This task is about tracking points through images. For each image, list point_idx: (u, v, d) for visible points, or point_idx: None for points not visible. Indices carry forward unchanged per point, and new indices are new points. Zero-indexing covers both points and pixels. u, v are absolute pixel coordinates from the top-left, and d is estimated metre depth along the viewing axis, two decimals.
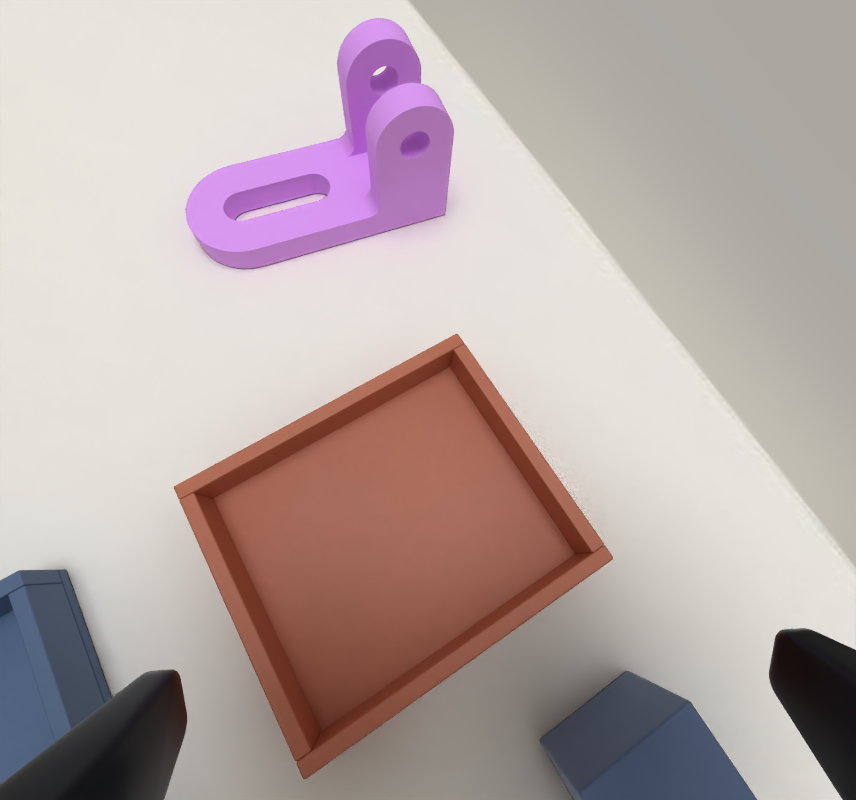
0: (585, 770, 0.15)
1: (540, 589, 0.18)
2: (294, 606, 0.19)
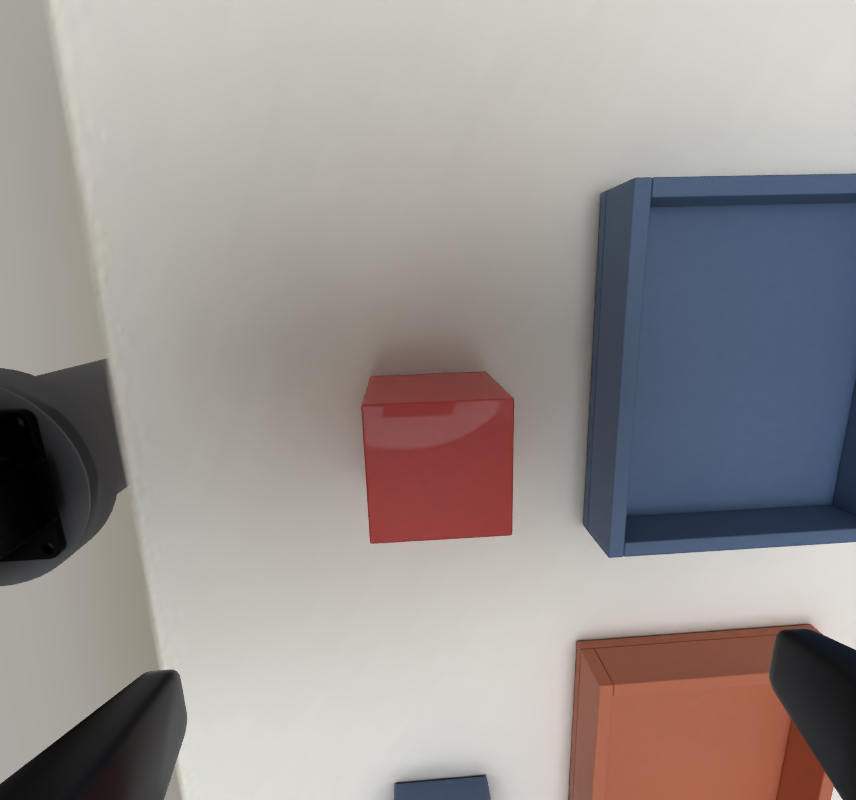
0: None
1: None
2: None
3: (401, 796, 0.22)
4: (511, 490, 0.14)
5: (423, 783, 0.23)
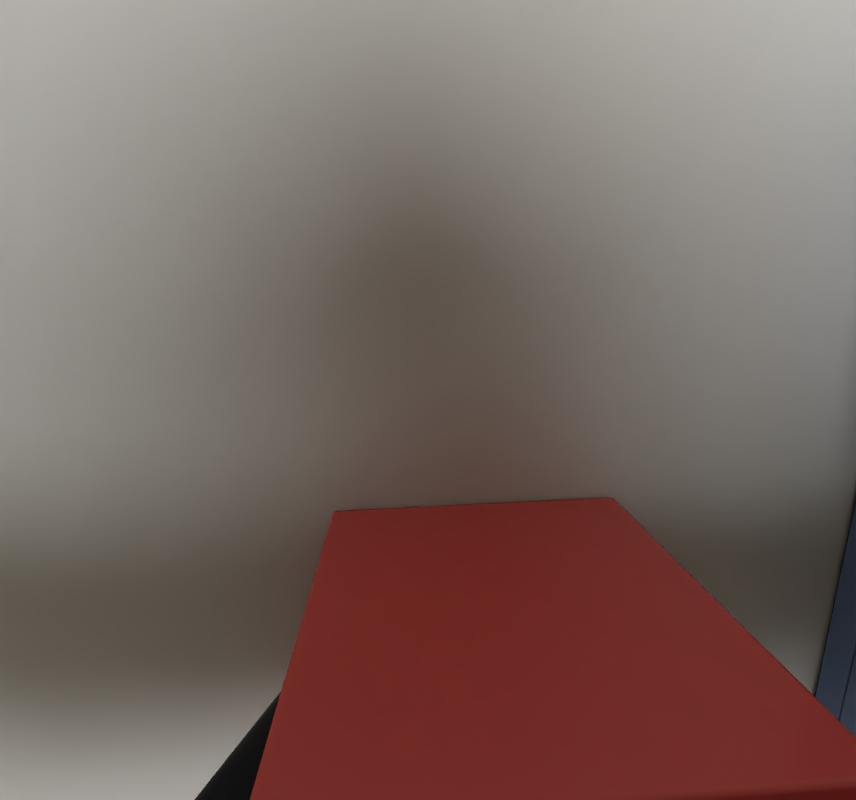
0: None
1: None
2: None
3: None
4: None
5: None
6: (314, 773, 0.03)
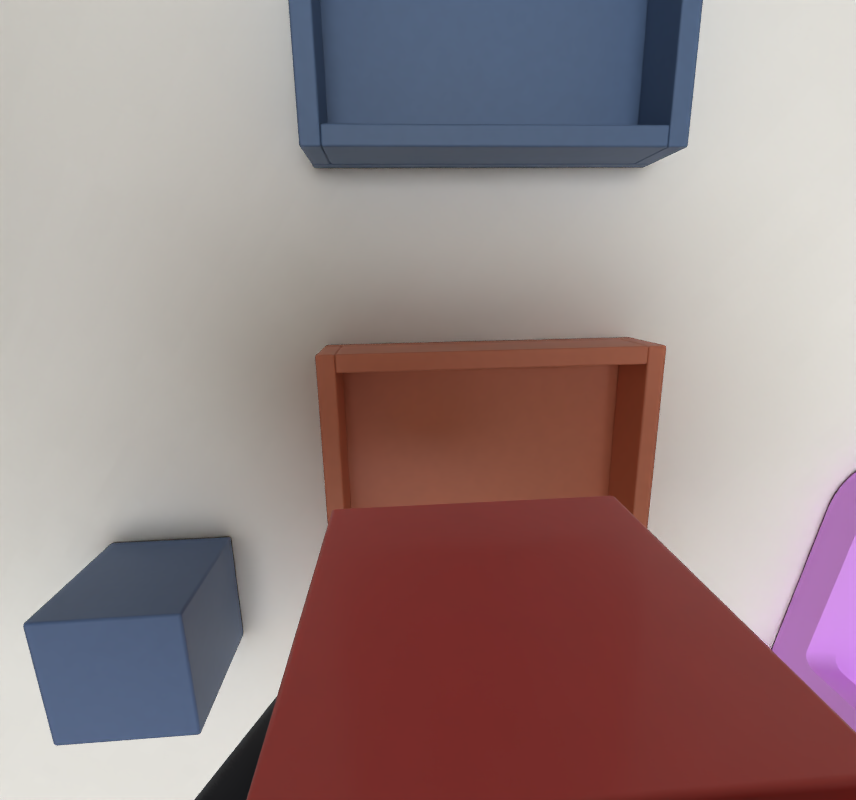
0: (193, 615, 0.15)
1: None
2: (465, 387, 0.17)
3: (110, 550, 0.17)
4: None
5: (147, 542, 0.18)
6: (312, 771, 0.03)
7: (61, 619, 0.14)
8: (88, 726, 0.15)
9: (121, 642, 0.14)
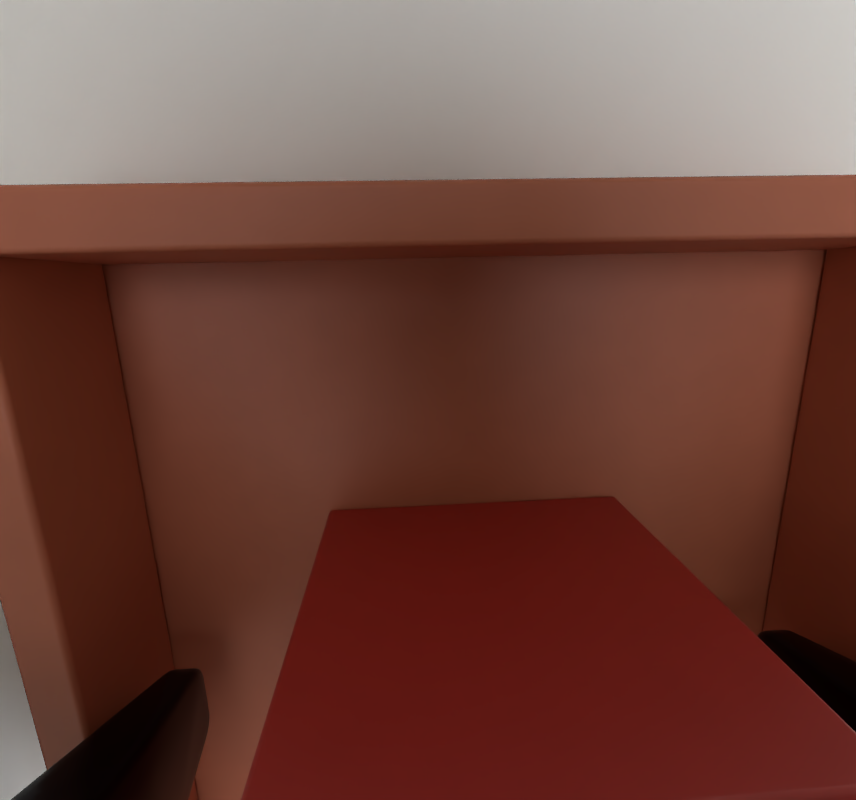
0: None
1: None
2: (435, 333, 0.07)
3: None
4: None
5: None
6: (305, 780, 0.03)
7: None
8: None
9: None
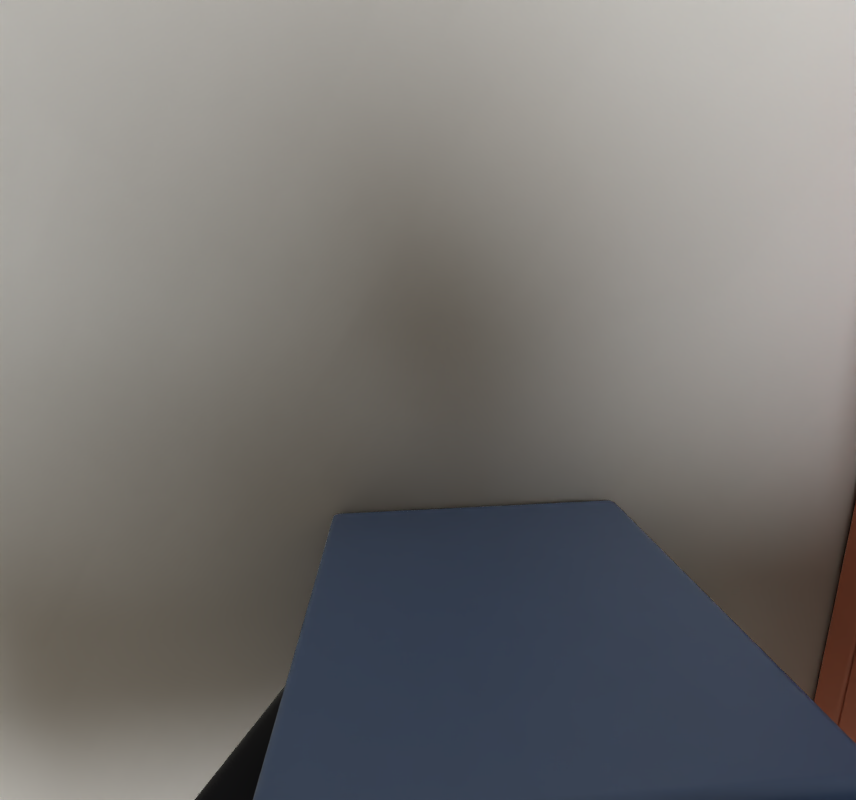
0: None
1: None
2: None
3: (350, 530, 0.07)
4: None
5: (422, 511, 0.07)
6: None
7: None
8: None
9: None
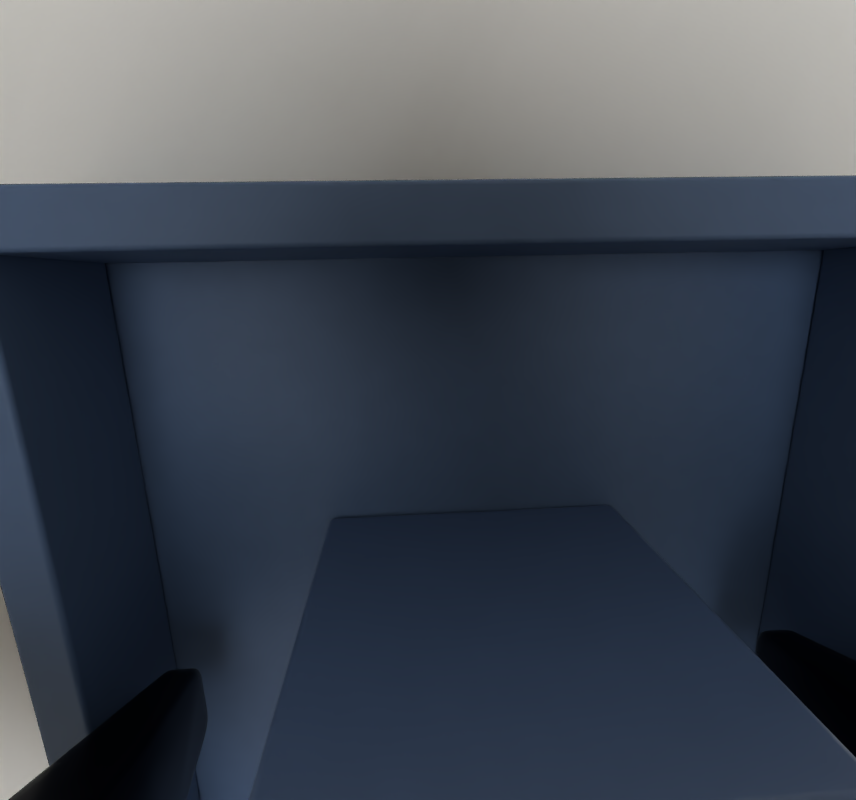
0: None
1: None
2: None
3: (347, 536, 0.07)
4: None
5: (420, 516, 0.07)
6: None
7: None
8: None
9: None
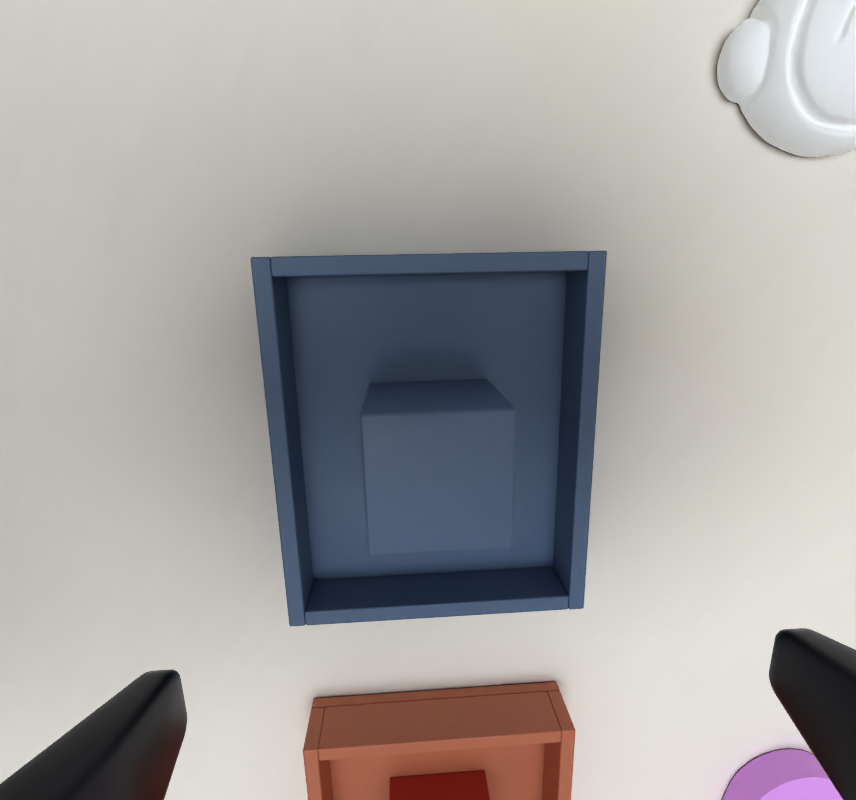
0: None
1: None
2: None
3: (377, 385, 0.17)
4: None
5: (406, 382, 0.17)
6: None
7: (395, 413, 0.13)
8: (405, 535, 0.14)
9: (453, 439, 0.14)
